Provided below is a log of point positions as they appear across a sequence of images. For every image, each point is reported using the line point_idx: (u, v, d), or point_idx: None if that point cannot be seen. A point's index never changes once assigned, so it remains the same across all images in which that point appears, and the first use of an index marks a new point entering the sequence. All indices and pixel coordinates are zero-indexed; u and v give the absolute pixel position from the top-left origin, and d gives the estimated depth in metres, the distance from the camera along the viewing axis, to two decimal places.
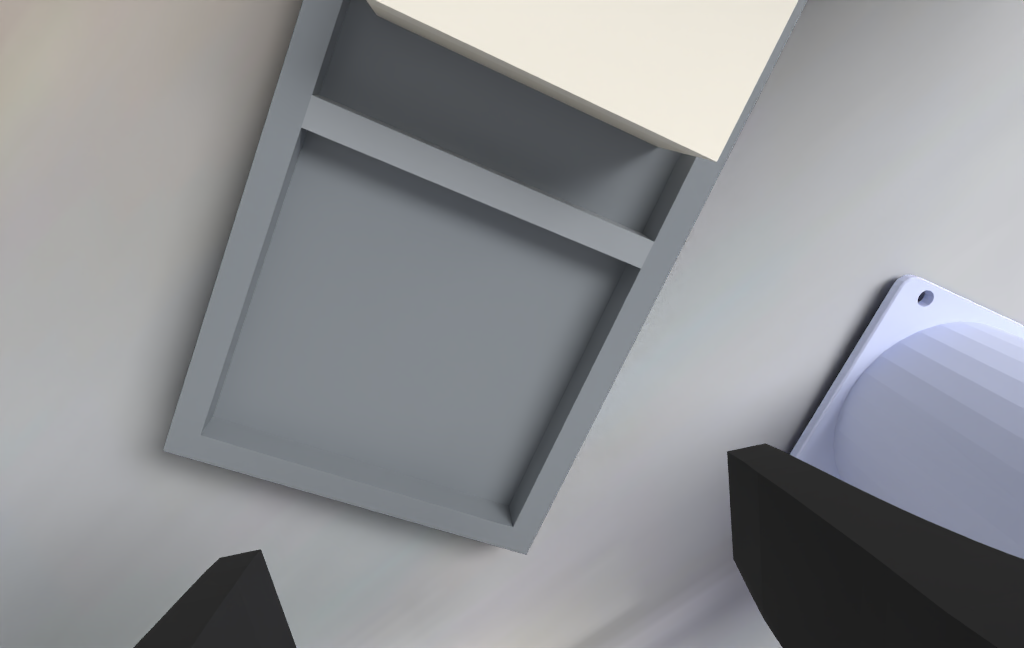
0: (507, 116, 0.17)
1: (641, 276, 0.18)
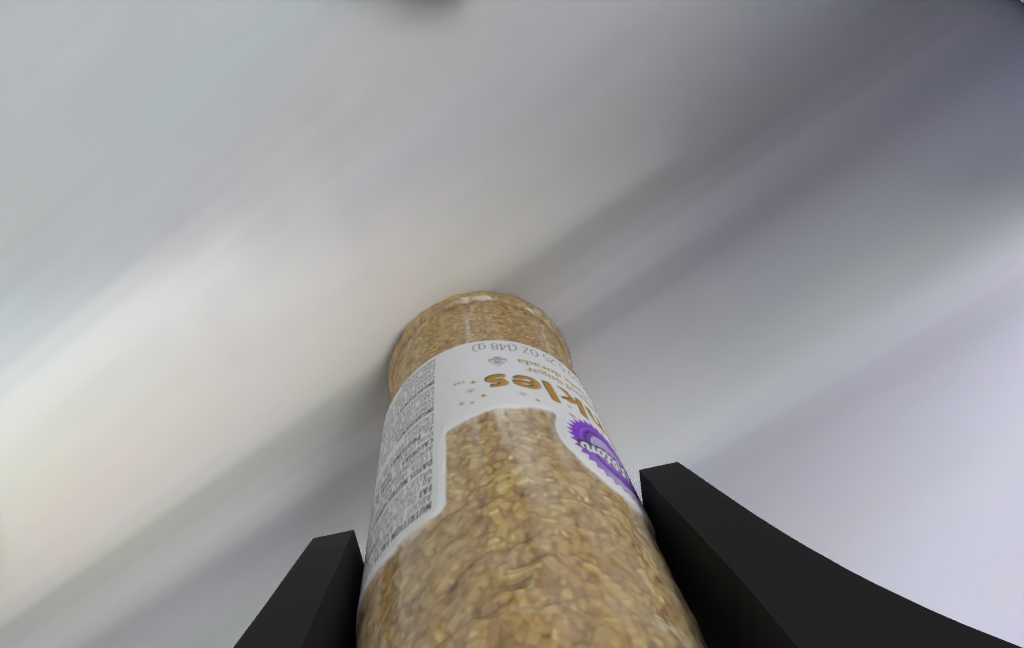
0: None
1: None
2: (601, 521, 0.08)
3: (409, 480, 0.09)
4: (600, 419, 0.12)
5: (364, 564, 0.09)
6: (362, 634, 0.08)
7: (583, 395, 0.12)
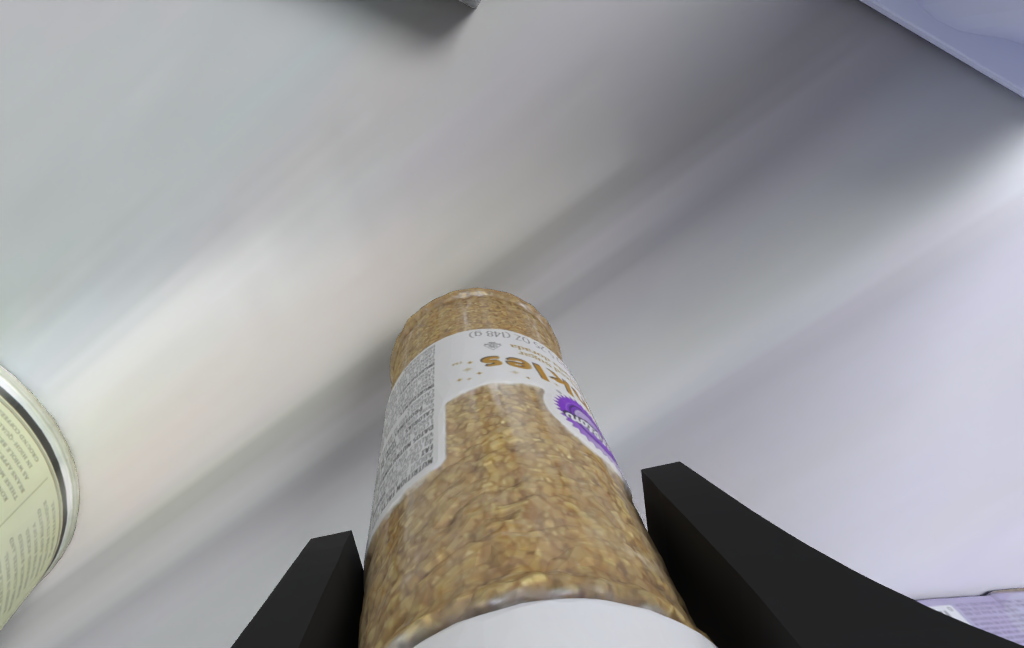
0: None
1: None
2: (581, 473, 0.09)
3: (413, 443, 0.10)
4: None
5: (371, 518, 0.10)
6: (370, 570, 0.09)
7: (570, 378, 0.13)
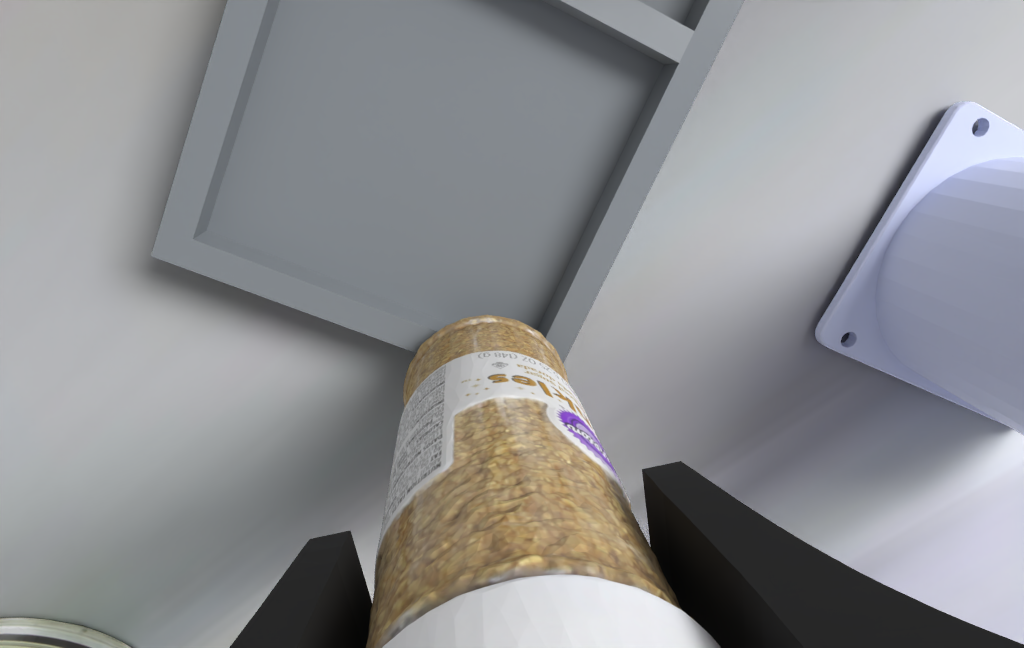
0: None
1: (679, 72, 0.17)
2: (580, 476, 0.10)
3: (422, 452, 0.11)
4: None
5: (382, 523, 0.11)
6: (381, 566, 0.09)
7: (574, 398, 0.14)
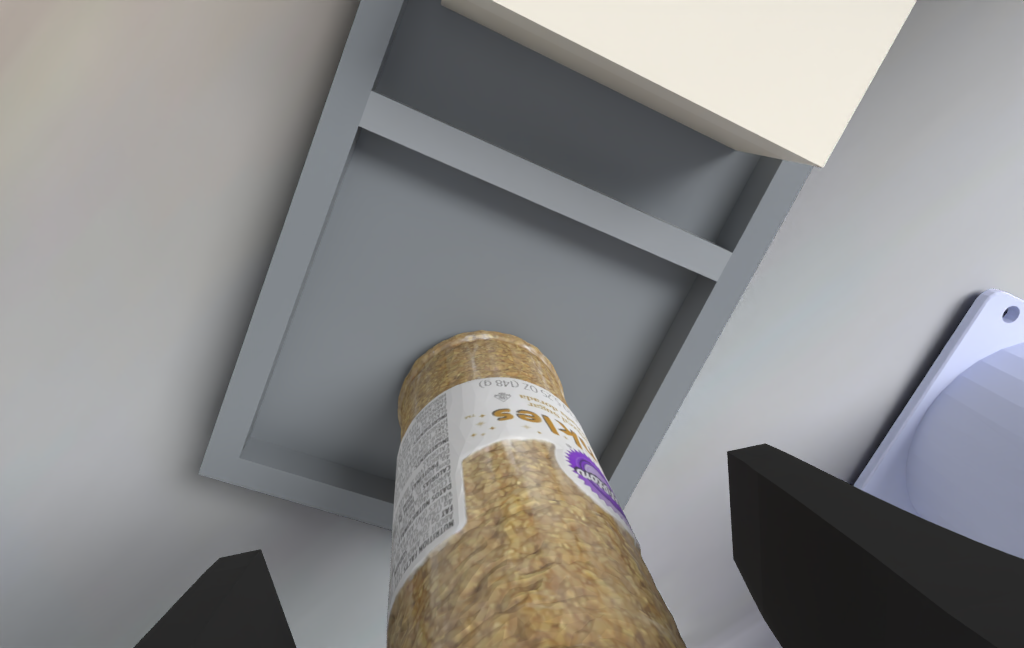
0: (576, 115, 0.16)
1: (717, 290, 0.17)
2: (596, 536, 0.09)
3: (431, 502, 0.11)
4: None
5: (391, 574, 0.11)
6: (396, 631, 0.09)
7: (577, 427, 0.14)
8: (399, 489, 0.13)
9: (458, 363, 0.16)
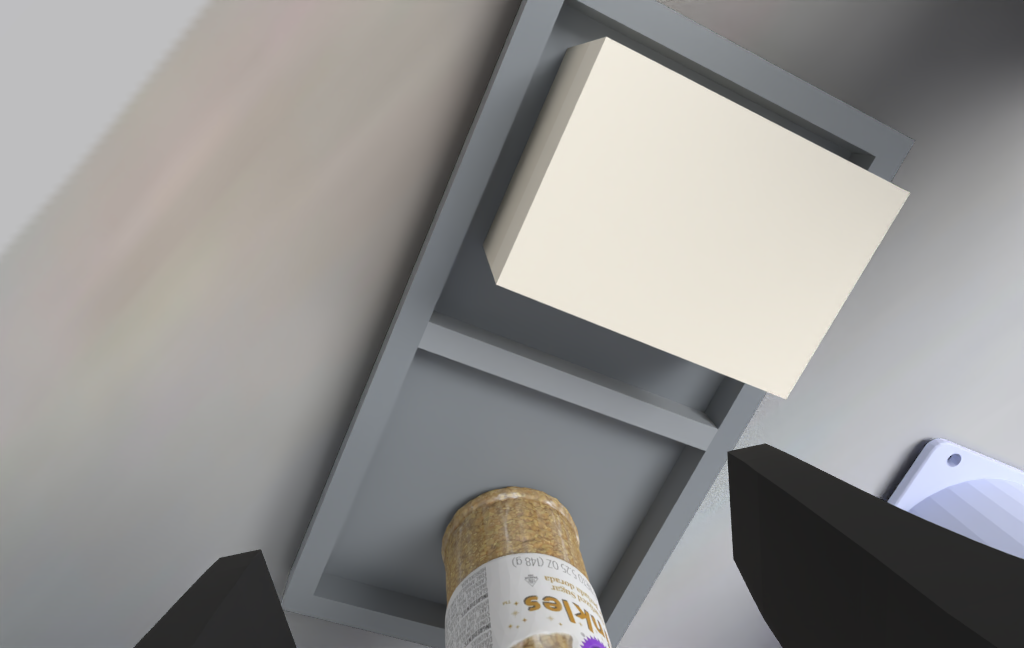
0: None
1: (705, 457, 0.21)
2: None
3: None
4: (600, 614, 0.18)
5: None
6: None
7: (589, 599, 0.17)
8: None
9: (493, 528, 0.19)
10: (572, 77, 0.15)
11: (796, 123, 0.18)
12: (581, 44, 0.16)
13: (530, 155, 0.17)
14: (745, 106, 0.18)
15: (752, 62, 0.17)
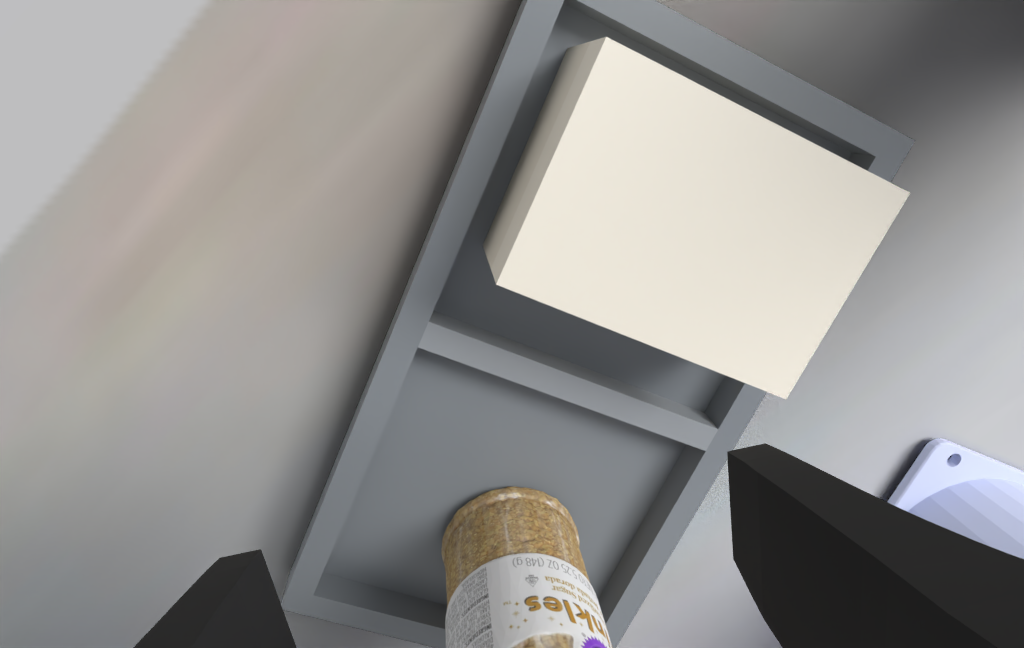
0: None
1: (705, 457, 0.21)
2: None
3: None
4: (601, 614, 0.18)
5: None
6: None
7: (589, 600, 0.17)
8: None
9: (494, 528, 0.19)
10: (572, 77, 0.15)
11: (796, 123, 0.18)
12: (581, 44, 0.16)
13: (530, 155, 0.17)
14: (745, 106, 0.18)
15: (752, 62, 0.17)
